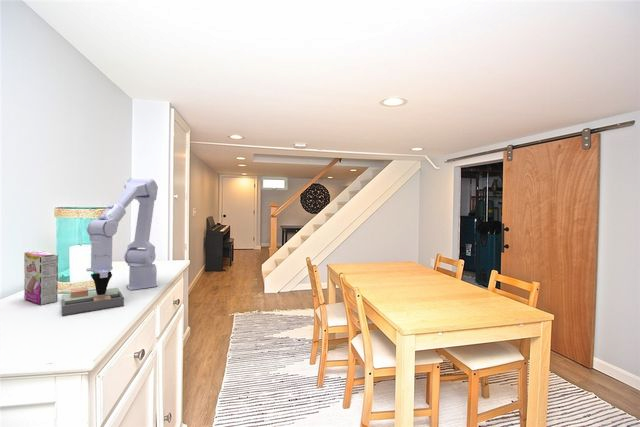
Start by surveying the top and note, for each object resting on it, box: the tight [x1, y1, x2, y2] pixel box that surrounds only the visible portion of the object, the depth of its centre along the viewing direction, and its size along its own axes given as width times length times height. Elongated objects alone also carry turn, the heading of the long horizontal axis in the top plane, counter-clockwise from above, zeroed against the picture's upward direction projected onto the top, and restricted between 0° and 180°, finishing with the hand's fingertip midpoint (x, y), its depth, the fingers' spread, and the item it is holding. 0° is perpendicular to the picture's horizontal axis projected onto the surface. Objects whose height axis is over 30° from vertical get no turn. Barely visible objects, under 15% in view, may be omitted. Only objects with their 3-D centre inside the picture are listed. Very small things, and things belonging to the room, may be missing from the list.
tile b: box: [69, 286, 89, 298], centre depth 101 cm, size 4×4×2 cm
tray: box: [61, 290, 125, 317], centre depth 96 cm, size 16×8×3 cm, turn 132°
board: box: [61, 287, 121, 303], centre depth 103 cm, size 16×8×2 cm, turn 132°
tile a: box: [93, 295, 111, 301], centre depth 98 cm, size 4×4×2 cm
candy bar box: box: [23, 250, 59, 306], centre depth 100 cm, size 11×5×16 cm, turn 65°
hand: (101, 294), depth 100 cm, fingers closed
